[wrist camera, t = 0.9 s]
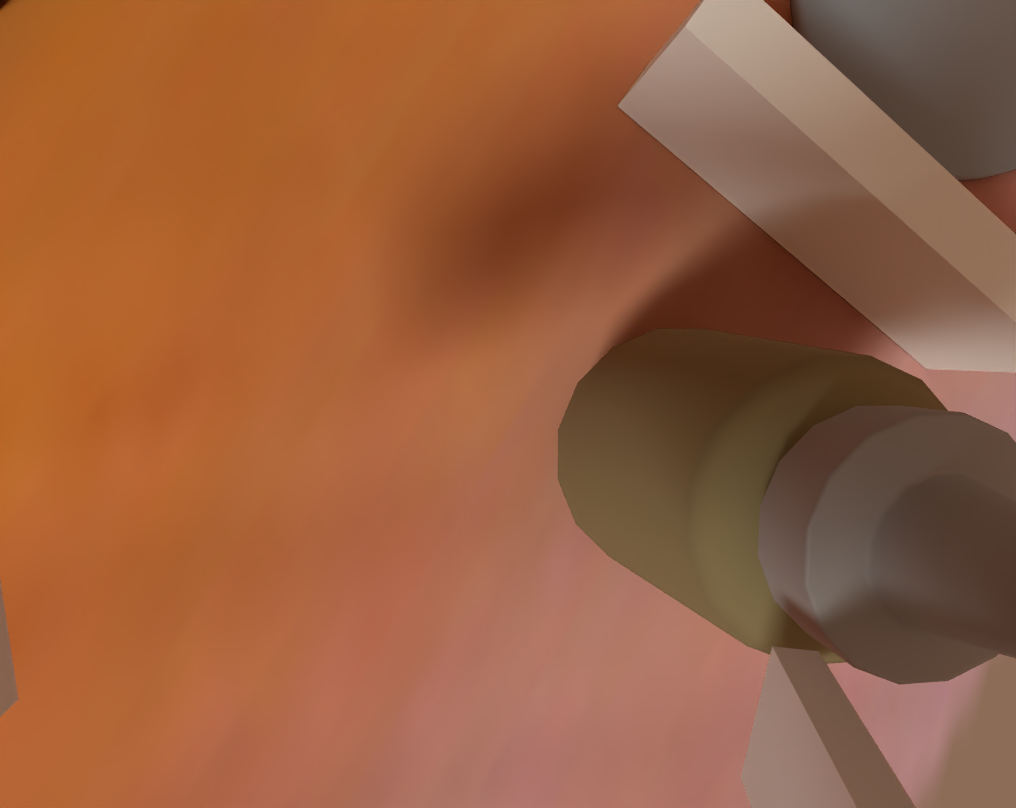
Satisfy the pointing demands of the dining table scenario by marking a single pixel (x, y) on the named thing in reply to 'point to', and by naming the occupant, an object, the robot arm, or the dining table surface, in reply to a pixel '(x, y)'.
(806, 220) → the beige rectangular block
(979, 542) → the squeeze bottle
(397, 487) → the dining table surface
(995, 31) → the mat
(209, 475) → the dining table surface
